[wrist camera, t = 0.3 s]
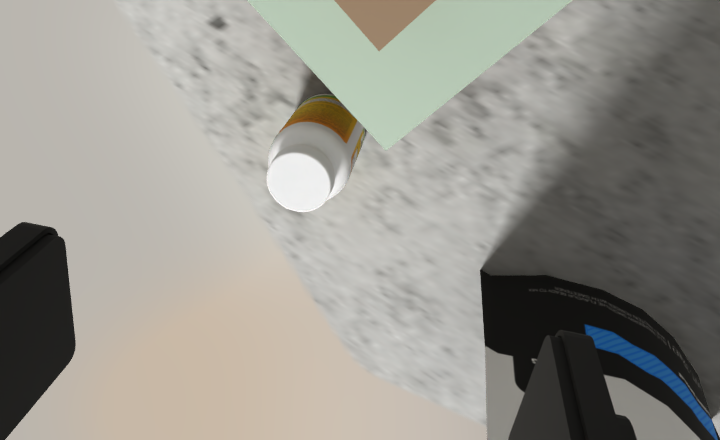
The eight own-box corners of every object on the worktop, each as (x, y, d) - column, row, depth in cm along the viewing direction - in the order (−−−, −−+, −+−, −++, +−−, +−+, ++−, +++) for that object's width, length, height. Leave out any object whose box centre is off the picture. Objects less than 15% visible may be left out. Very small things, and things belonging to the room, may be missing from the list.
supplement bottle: (282, 103, 45) (240, 153, 37) (352, 83, 44) (324, 130, 35) (308, 169, 47) (273, 230, 39) (375, 152, 46) (354, 212, 37)
